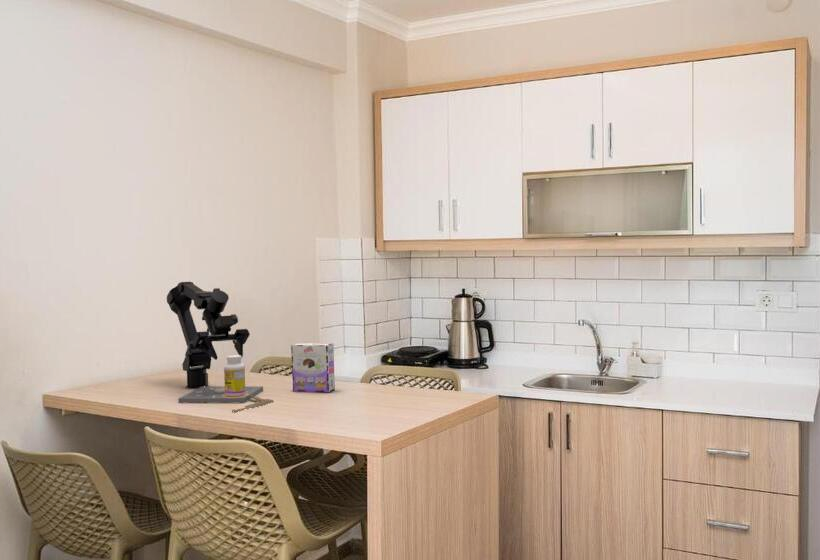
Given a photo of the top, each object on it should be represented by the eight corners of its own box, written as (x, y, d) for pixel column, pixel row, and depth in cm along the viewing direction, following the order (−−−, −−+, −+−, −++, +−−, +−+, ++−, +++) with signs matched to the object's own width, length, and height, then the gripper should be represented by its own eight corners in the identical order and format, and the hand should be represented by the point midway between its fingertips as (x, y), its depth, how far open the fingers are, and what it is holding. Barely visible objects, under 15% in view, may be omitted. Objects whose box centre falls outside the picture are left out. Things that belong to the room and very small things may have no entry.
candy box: (335, 390, 281) (334, 342, 280) (328, 393, 275) (327, 345, 274) (299, 388, 285) (298, 342, 284) (291, 391, 280) (290, 344, 279)
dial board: (178, 402, 264) (178, 394, 264) (202, 390, 285) (202, 383, 285) (244, 403, 261) (243, 394, 261) (263, 390, 282) (262, 383, 282)
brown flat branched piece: (276, 402, 266) (276, 396, 266) (260, 416, 246) (260, 410, 246) (249, 400, 267) (249, 394, 267) (231, 414, 247) (231, 408, 247)
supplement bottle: (222, 394, 267) (220, 355, 267) (241, 392, 271) (239, 353, 270) (229, 397, 262) (227, 358, 261) (248, 395, 265) (247, 356, 265)
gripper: (196, 307, 267) (210, 344, 259) (247, 305, 279) (262, 340, 271) (186, 329, 274) (200, 365, 266) (236, 326, 286) (251, 361, 278)
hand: (229, 357), depth 270 cm, fingers open, 9 cm apart
